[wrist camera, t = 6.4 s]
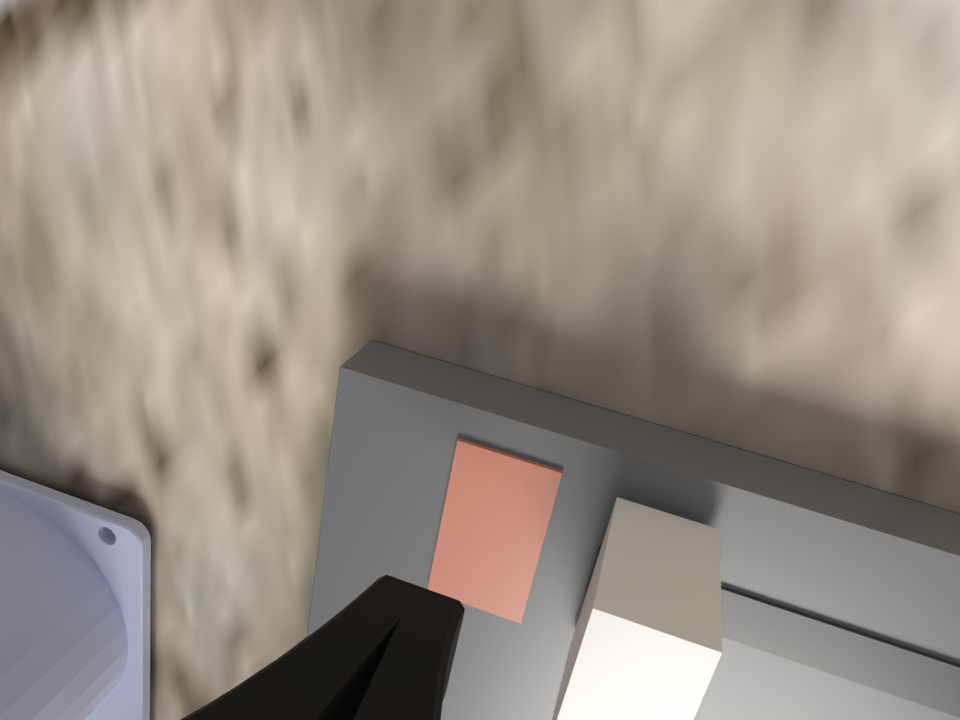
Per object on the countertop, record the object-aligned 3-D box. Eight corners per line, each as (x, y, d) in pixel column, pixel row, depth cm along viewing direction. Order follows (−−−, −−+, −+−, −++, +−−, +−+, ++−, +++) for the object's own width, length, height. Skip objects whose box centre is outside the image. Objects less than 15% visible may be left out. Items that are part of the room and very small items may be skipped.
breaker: (569, 648, 15) (537, 779, 12) (616, 497, 13) (592, 608, 11) (660, 681, 14) (649, 823, 12) (719, 528, 13) (722, 653, 10)
